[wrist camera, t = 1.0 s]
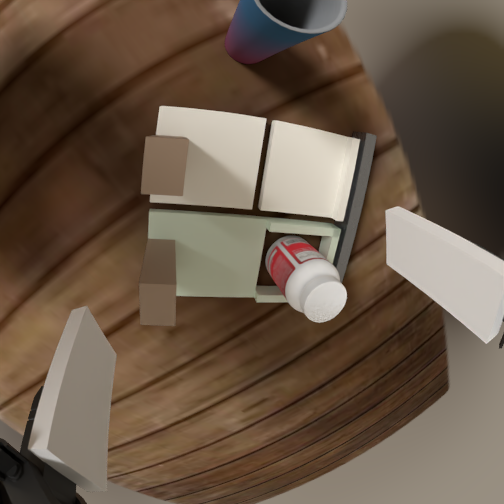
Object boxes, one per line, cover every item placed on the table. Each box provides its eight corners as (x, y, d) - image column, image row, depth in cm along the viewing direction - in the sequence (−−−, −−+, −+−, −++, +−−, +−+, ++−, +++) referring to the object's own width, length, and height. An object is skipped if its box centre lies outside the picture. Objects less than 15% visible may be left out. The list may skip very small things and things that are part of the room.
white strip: (257, 207, 34) (263, 213, 32) (272, 120, 30) (279, 120, 28) (333, 215, 37) (343, 221, 35) (349, 138, 33) (360, 139, 31)
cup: (286, 62, 28) (361, 28, 15) (229, 79, 28) (272, 42, 14) (265, 12, 25) (325, -47, 12) (207, 27, 25) (234, -41, 11)
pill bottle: (279, 287, 39) (313, 339, 30) (254, 254, 37) (285, 302, 27) (317, 259, 39) (361, 302, 29) (295, 223, 36) (340, 261, 27)
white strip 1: (150, 199, 31) (139, 234, 21) (160, 106, 27) (151, 94, 17) (249, 206, 34) (282, 242, 24) (263, 119, 30) (305, 115, 20)
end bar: (315, 297, 42) (324, 308, 39) (352, 131, 33) (366, 132, 31) (324, 297, 42) (333, 308, 39) (362, 134, 34) (376, 135, 31)
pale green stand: (148, 289, 35) (142, 351, 25) (150, 208, 31) (138, 247, 21) (314, 292, 41) (354, 342, 31) (332, 223, 37) (384, 259, 27)
